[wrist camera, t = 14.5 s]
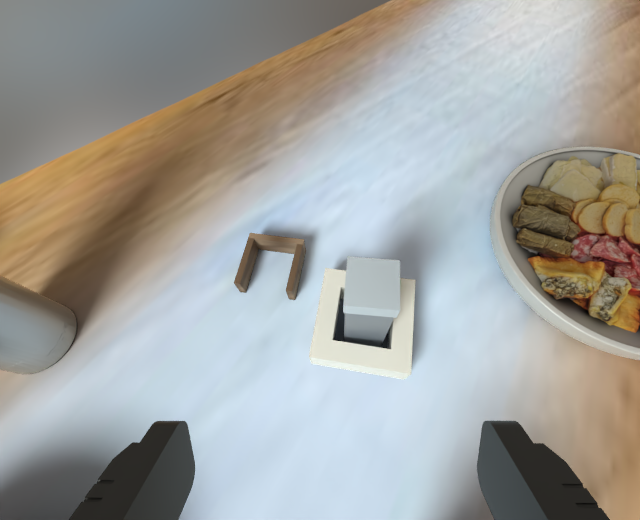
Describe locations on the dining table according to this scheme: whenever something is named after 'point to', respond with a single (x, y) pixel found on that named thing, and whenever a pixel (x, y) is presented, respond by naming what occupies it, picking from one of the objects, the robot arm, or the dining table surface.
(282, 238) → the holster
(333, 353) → the frame
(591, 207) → the bowl
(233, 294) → the dining table surface
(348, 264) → the plug
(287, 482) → the dining table surface
